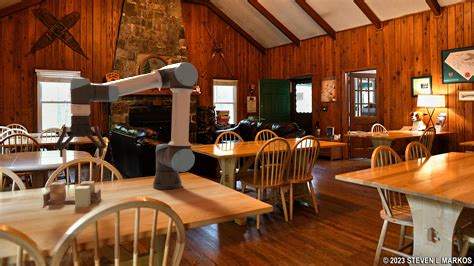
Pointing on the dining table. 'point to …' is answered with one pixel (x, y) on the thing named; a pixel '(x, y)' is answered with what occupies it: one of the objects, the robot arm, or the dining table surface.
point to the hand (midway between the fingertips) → (81, 164)
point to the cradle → (59, 196)
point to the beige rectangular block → (82, 196)
